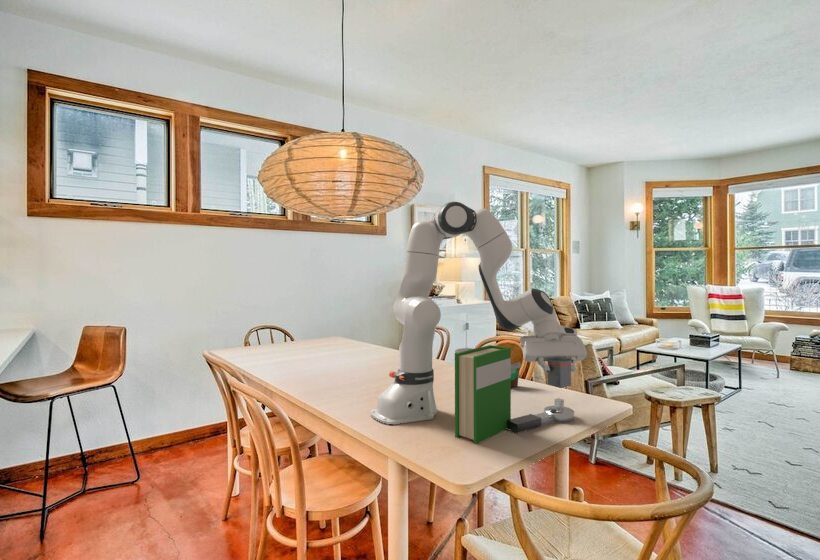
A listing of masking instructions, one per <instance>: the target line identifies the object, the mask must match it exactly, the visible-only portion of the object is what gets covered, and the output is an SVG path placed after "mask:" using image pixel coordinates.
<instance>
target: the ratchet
mask: <svg viewBox="0 0 820 560" xmlns="http://www.w3.org/2000/svg"><path fill="white" fill-rule="evenodd" d="M564 400H565V399H563V398H559V397H557V398H554V405H549V406H545V407H544V408H543V409H544V411H543V412H540V413H536V414H531V413H529V414H525V415H521V416H518V417H513V418H511V419H510V420H507V429H506V430H509V431H511V432H514V433H515V434H520V433H523V432H527V431H529V430H530V431H531V430H535V429H537V428H541V427H543V426H546V425H551V424H553V423H559V424H568V423H569V422H570V423H572V422H574V421H575V410H574V409H572V408H570V407H567V406H565V401H564ZM570 423H569V424H570Z"/></svg>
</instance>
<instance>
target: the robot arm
mask: <svg viewBox="0 0 820 560" xmlns="http://www.w3.org/2000/svg"><path fill="white" fill-rule="evenodd" d="M461 235H465V236H467V237H468V238H470V241H472V242H473V244H474V246H475V248H476V249H477V251H478V254H479V256H480V262H479V264H478V272H479V275H480V279H481V281H482V283H483V287H484V289H485V291H486V294H487V296H488V298H489V301H490V304H491V306H492V309H493V312H494V313H493V314H494V316H495V319H496V322H497V324H498V325H499V327H500V328H501V329H503V330H506V331H509V332H514V331H515V330H517V329H518V328H521V327H522V326H524V325H525V324H528V323H530V322H531V324H532V325H533V333H534V335H523V336H522V337H520V339H519V343H520V346H521V347H522V354H523V355H522V356H523V359H524V360H525V362H528V363H529V362H531V363H534V362H537V365H538V366H540V367H541V368H542V370H543V373H548V372H549V371H550V368H549V365H548V364H546V363H545V362H548V360H549V359H554V358H562V359H566V360H571V373H574V372H575V371H576V370H577V369H576V366H575V364H576V361H577V362H578V361H579V362H582V361H584V360H585V358H586V357H587V355H588V352H587V349H586V346H585V343H584V342H583V340H582V338H581V337H579V336H578V330H577V329H575V328H572V327H568V326H564V325H562V324H560V323H559V321H558V320H557V316H558V315H557V313H556V310H555V307H554V305H553V302H552V300H551V298H550V297H549V295H548V294H547V293H546V292H545V291H543V290H541V289H538V288H530V289H528V290H526V291H524V292H522V293H520V294H518V295H517V296H515V297H512V298H511V299H509V300H505V299H504V296H503V295H502V292H501V289H500V286H499V284H498V281H497V275H498V273H499V271H500V270H501V268H502V267H503V266H504V264H506V262H507V261H508V259H509V258H510V257H511V255H512V254H511V253H512V250H513V243H512V240H511V239H510V236H509V235H508V233H507V231H506V230H505V228H504V227H503V225H502V224H501V223H500V221H499V220H498V219H497V217H496V216H495V215H494V214H493V212H491V211H490V210H489V209H487V208H479V209H476V210H475V209H473V208H471V207H469V206H467V205H466V204H464V203H462V202H459V201H451V202H450V201H449V202H447V203H445V204H444V205H443V206H441V207H440V208H439V209H437V211H436V213H435V214H434V216H433V217H432V218H431V220H420V221H417V222H415V223H414V224H413V225H412V226H411V229H410V232H409V235H408V240H407V244H406V248H405V249H406V250H405V258H404V266H403V267H404V268H403V274H402V278H401V282H400V285H399V289H398V292H397V296H396V300H395V302H394V303H393V307H392V311H393V315H394V317H395V319H396V320H397V321H398V322H399V324H402V325H403V332H402V338H401V342H400V344H399V346H398V348H399V349H398V351H399V352H398V356H399V357H398V358H399V363H398V365H399V368H398V370H397V372H396V371H394V370H390V371H389V373H388V376H389V377H390V378H393V379H394V381H393V383H391V384H390V385H389V386H388V387H387V388H386V389H385V390H384V391H382V392H381V393H380V394H379V396H378V398H377V405H376V406H377V407H376V408H374V409H371V410H370V413H371V415H370V417H371V418H372V417H373V418H372V419H374V418H375V419H376V420H375V419H374V420H375V421H377V420H378V421H377V422H379V421H380V422H379V423H381V422H383V423H382V424H384V423H386V424H385V425H389V424H393V425H400V423H401V424H407V423H413V422H414V423H415V422H421V421H422V422H423V421H428V420H434V419H435V415H436V414H437V413H438V409H437V403H436V400H435V394H434V381H435V380H434V379H435V377H434V376H435V375H434V372H435V371H434V368H433V344H434V340H435V339H434V338H435V334H436V330H437V326H438V325H439V322H440V320H441V317H442V313H441V310H440V307H439V305H438V304H437V303H436V302H435V301H434V300H433V299H431V298H430V297H429V296H430V292H431V291H432V287H433V285H434V283H435V282H436V279H437V273H438V266H439V264H438V263H439V258H440V248H441V243H442V241H443V240H449V239H452V238H456V237H458V236H461Z"/></svg>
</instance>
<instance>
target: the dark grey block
mask: <svg viewBox="0 0 820 560" xmlns="http://www.w3.org/2000/svg"><path fill="white" fill-rule="evenodd" d="M547 365H549V368H550V371H549V372H547V385H548V386H552V387H555V388H559V389H562V388H563V389H564V388H566V387H567V388H568V387H570V386H572V372H571V365H572V363H571V360H566V359H562V358H554V359H549V360H548V361H547Z"/></svg>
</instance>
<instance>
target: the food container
mask: <svg viewBox="0 0 820 560" xmlns="http://www.w3.org/2000/svg"><path fill="white" fill-rule="evenodd" d="M520 368H522V363H521V361H518V362H515V363H513V362H511V389H515V388H517V387H518V385H519V384H518V383H519V377H520Z"/></svg>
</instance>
